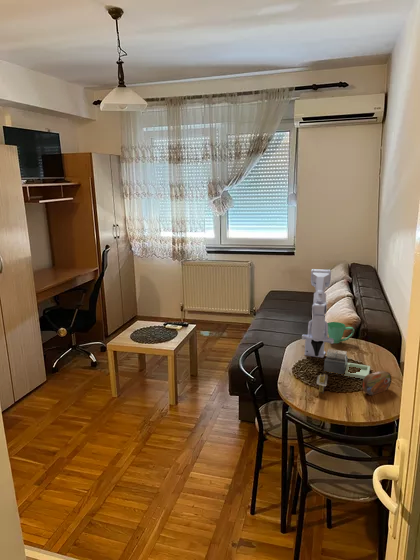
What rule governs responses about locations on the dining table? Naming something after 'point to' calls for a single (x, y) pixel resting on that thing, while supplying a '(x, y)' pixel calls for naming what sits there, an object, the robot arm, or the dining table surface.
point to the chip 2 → (341, 356)
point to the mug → (338, 331)
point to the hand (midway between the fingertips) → (316, 355)
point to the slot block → (335, 366)
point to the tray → (361, 374)
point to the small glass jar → (323, 382)
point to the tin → (376, 382)
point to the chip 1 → (331, 354)
